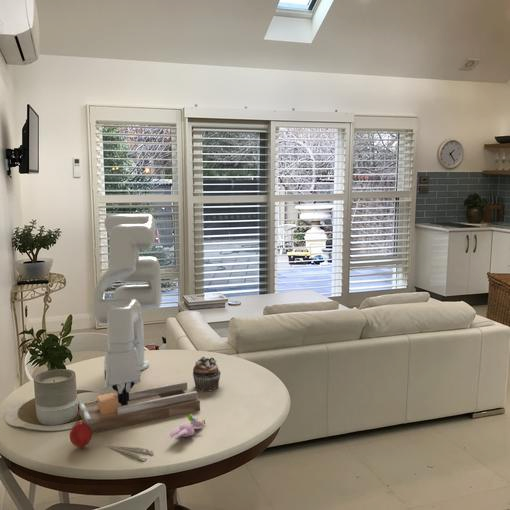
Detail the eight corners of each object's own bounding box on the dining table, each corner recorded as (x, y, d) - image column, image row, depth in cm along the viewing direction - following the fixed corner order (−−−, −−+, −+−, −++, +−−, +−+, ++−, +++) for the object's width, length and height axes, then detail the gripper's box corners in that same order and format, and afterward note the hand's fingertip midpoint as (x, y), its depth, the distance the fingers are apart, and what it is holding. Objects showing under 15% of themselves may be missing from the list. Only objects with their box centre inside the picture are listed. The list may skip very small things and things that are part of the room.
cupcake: (189, 390, 184) (188, 362, 182) (198, 380, 193) (198, 353, 191) (215, 393, 181) (215, 364, 180) (224, 382, 191) (224, 355, 189)
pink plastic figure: (191, 426, 161) (162, 441, 147) (192, 407, 161) (164, 420, 147) (210, 431, 158) (182, 446, 145) (211, 410, 158) (183, 424, 144)
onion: (70, 444, 148) (68, 417, 146) (92, 440, 150) (90, 413, 148) (71, 455, 142) (69, 426, 141) (93, 451, 144) (92, 422, 143)
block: (98, 408, 163) (97, 395, 163) (114, 404, 166) (114, 392, 165) (101, 414, 159) (100, 402, 158) (118, 411, 161) (118, 398, 161)
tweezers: (155, 455, 143) (154, 448, 143) (144, 464, 139) (143, 457, 139) (103, 445, 151) (103, 438, 150) (92, 453, 146) (91, 446, 146)
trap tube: (79, 414, 166) (78, 399, 165) (184, 393, 181) (184, 379, 180) (88, 434, 153) (87, 417, 153) (199, 409, 169) (199, 394, 168)
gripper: (142, 338, 168) (144, 394, 171) (93, 346, 161) (96, 404, 164) (149, 345, 162) (151, 403, 165) (98, 353, 155) (101, 413, 158)
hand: (123, 403), depth 164 cm, fingers closed
